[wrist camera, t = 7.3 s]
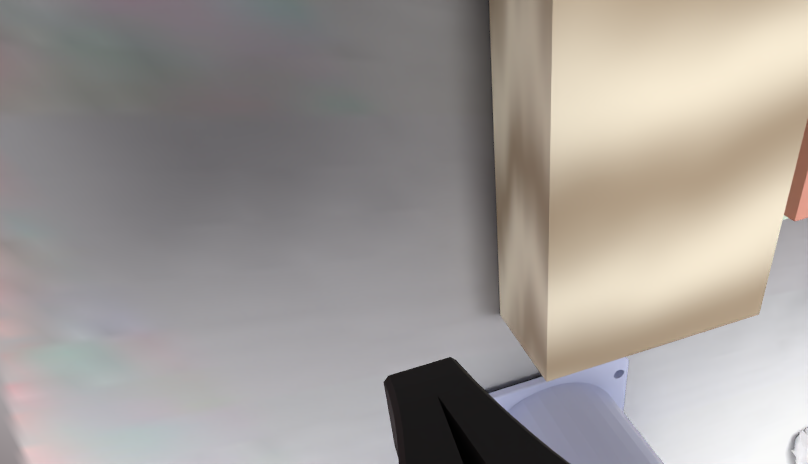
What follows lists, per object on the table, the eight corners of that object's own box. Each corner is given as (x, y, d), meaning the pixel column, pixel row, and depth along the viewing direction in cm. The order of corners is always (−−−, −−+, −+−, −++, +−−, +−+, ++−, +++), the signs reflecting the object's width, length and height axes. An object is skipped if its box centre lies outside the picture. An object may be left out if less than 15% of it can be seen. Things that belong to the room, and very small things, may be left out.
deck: (690, 259, 28) (758, 314, 25) (500, 315, 26) (546, 381, 23) (748, -98, 20) (859, -89, 17) (486, -53, 19) (553, -33, 15)
